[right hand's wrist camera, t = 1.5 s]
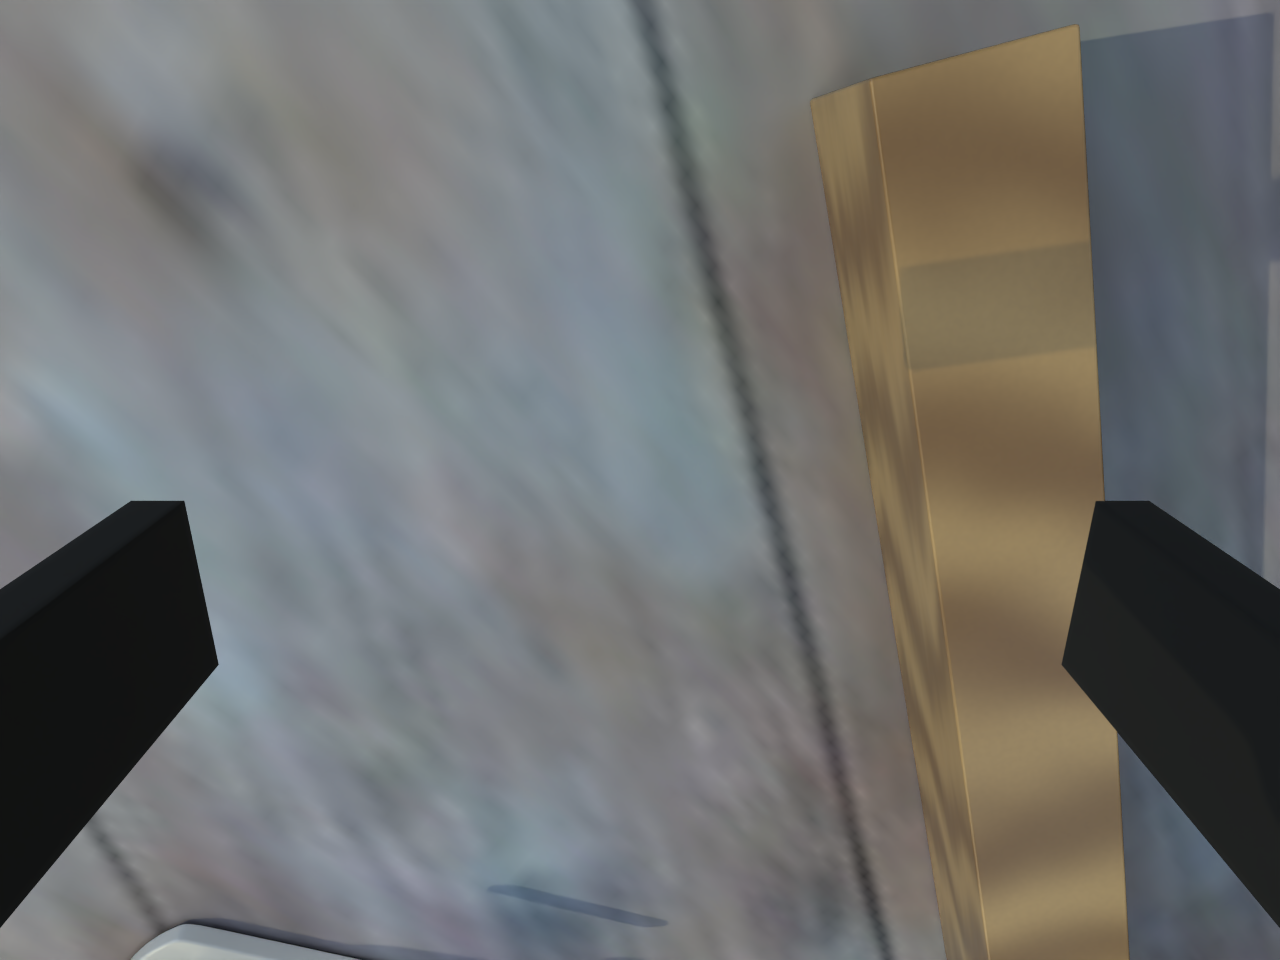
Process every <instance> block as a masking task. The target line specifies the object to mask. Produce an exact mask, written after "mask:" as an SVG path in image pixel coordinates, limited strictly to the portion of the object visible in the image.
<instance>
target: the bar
mask: <svg viewBox="0 0 1280 960" xmlns="http://www.w3.org/2000/svg"><path fill="white" fill-rule="evenodd" d="M810 104H811V110H812V116H813V123H814V129H815V135H816V141H817V148H818V154H819V160H820V167H821V173H822V179H823V185H824V192H825V198H826V204H827V211H828V217H829V223H830V229H831V236H832V242H833V248H834V254H835V261H836V267H837V273H838V280H839V286H840V292H841V298H842V305H843V311H844V317H845V324H846V330H847V336H848V342H849V349H850V355H851V361H852V368H853V374H854V380H855V386H856V393H857V399H858V405H859V411H860V418H861V424H862V430H863V437H864V443H865V449H866V455H867V462H868V468H869V474H870V481H871V487H872V493H873V499H874V506H875V512H876V518H877V525H878V531H879V537H880V543H881V550H882V556H883V562H884V568H885V575H886V581H887V587H888V594H889V600H890V606H891V612H892V619H893V625H894V631H895V638H896V644H897V650H898V656H899V663H900V669H901V675H902V682H903V688H904V694H905V700H906V707H907V713H908V719H909V725H910V732H911V738H912V744H913V751H914V757H915V763H916V769H917V776H918V782H919V788H920V795H921V801H922V807H923V813H924V820H925V826H926V832H927V839H928V845H929V851H930V857H931V864H932V870H933V876H934V882H935V889H936V895H937V901H938V908H939V914H940V920H941V926H942V933H943V939H944V945H945V952H946V958H947V960H1130V959H1129V940H1128V922H1127V903H1126V884H1125V866H1124V847H1123V828H1122V810H1121V791H1120V773H1119V754H1118V735H1117V731H1116V730H1115V729H1114V727H1113V726H1112V725H1111V724H1110V723H1109V721H1108V720H1107V719H1106V718H1105V717H1104V715H1103V714H1102V713H1101V712H1100V711H1099V709H1098V708H1097V707H1096V706H1095V705H1094V703H1093V702H1092V701H1091V700H1090V698H1089V697H1088V696H1087V695H1086V694H1085V692H1084V691H1083V690H1082V689H1081V688H1080V686H1079V685H1078V684H1077V683H1076V682H1075V680H1074V679H1073V678H1072V677H1071V676H1070V674H1069V673H1068V672H1067V671H1066V670H1065V668H1064V667H1063V666H1062V665H1061V664H1062V659H1063V655H1064V650H1065V645H1066V640H1067V636H1068V631H1069V626H1070V621H1071V617H1072V612H1073V607H1074V602H1075V597H1076V593H1077V588H1078V583H1079V578H1080V574H1081V569H1082V564H1083V559H1084V554H1085V550H1086V545H1087V540H1088V535H1089V531H1090V526H1091V521H1092V516H1093V512H1094V507H1095V502H1096V501H1105V493H1104V475H1103V456H1102V437H1101V419H1100V400H1099V381H1098V363H1097V344H1096V326H1095V307H1094V288H1093V270H1092V251H1091V233H1090V214H1089V195H1088V177H1087V158H1086V139H1085V121H1084V102H1083V84H1082V65H1081V46H1080V28H1079V25H1077V24H1073V25H1070V26H1066V27H1062V28H1058V29H1054V30H1051V31H1047V32H1043V33H1039V34H1036V35H1032V36H1028V37H1024V38H1021V39H1017V40H1013V41H1009V42H1005V43H1002V44H998V45H994V46H990V47H987V48H983V49H979V50H975V51H972V52H968V53H964V54H960V55H957V56H953V57H949V58H945V59H941V60H938V61H934V62H930V63H926V64H923V65H919V66H915V67H911V68H908V69H904V70H900V71H896V72H892V73H889V74H885V75H881V76H877V77H874V78H870V79H868V80H865V81H862V82H859V83H856V84H853V85H850V86H848V87H845V88H842V89H839V90H836V91H833V92H830V93H828V94H825V95H822V96H819V97H816V98H813V99H812V100H811V102H810Z"/></svg>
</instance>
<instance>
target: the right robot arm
mask: <svg viewBox="0 0 1280 960" xmlns="http://www.w3.org/2000/svg"><path fill="white" fill-rule="evenodd" d="M218 665H219V664H218V659H217V655H216V650H215V645H214V640H213V636H212V631H211V626H210V621H209V617H208V612H207V607H206V602H205V597H204V593H203V588H202V583H201V578H200V574H199V569H198V564H197V559H196V554H195V550H194V545H193V540H192V535H191V531H190V526H189V521H188V516H187V511H186V507H185V502H184V501H130V502H129V503H127V504H126V505H124V506H123V507H121V508H120V509H118V510H117V511H115V512H114V513H113V514H111V515H110V516H108V517H107V518H105V519H104V520H102V521H101V522H99V523H98V524H96V525H95V526H93V527H92V528H90V529H89V530H87V531H86V532H84V533H83V534H81V535H80V536H78V537H77V538H76V539H74V540H73V541H71V542H70V543H68V544H67V545H65V546H64V547H62V548H61V549H59V550H58V551H56V552H55V553H53V554H52V555H50V556H49V557H47V558H46V559H44V560H43V561H42V562H40V563H39V564H37V565H36V566H34V567H33V568H31V569H30V570H28V571H27V572H25V573H24V574H22V575H21V576H19V577H18V578H16V579H15V580H13V581H12V582H10V583H9V584H7V585H6V586H5V587H3V588H2V589H0V927H1V926H2V925H3V924H4V923H5V921H6V920H7V919H8V918H9V917H10V915H11V914H12V913H13V912H14V911H15V909H16V908H17V907H18V906H19V905H20V903H21V902H22V901H23V900H24V899H25V897H26V896H27V895H28V894H29V892H30V891H31V890H32V889H33V888H34V886H35V885H36V884H37V883H38V882H39V880H40V879H41V878H42V877H43V876H44V874H45V873H46V872H47V871H48V870H49V868H50V867H51V866H52V865H53V864H54V862H55V861H56V860H57V859H58V858H59V856H60V855H61V854H62V853H63V852H64V850H65V849H66V848H67V847H68V845H69V844H70V843H71V842H72V841H73V839H74V838H75V837H76V836H77V835H78V833H79V832H80V831H81V830H82V829H83V827H84V826H85V825H86V824H87V823H88V821H89V820H90V819H91V818H92V817H93V815H94V814H95V813H96V812H97V811H98V809H99V808H100V807H101V806H102V805H103V803H104V802H105V801H106V800H107V799H108V797H109V796H110V795H111V794H112V792H113V791H114V790H115V789H116V788H117V786H118V785H119V784H120V783H121V782H122V780H123V779H124V778H125V777H126V776H127V774H128V773H129V772H130V771H131V770H132V768H133V767H134V766H135V765H136V764H137V762H138V761H139V760H140V759H141V758H142V756H143V755H144V754H145V753H146V752H147V750H148V749H149V748H150V747H151V745H152V744H153V743H154V742H155V741H156V739H157V738H158V737H159V736H160V735H161V733H162V732H163V731H164V730H165V729H166V727H167V726H168V725H169V724H170V723H171V721H172V720H173V719H174V718H175V717H176V715H177V714H178V713H179V712H180V711H181V709H182V708H183V707H184V706H185V705H186V703H187V702H188V701H189V700H190V698H191V697H192V696H193V695H194V694H195V692H196V691H197V690H198V689H199V688H200V686H201V685H202V684H203V683H204V682H205V680H206V679H207V678H208V677H209V676H210V674H211V673H212V672H213V671H214V670H215V668H216V667H217V666H218ZM1061 665H1062V666H1063V667H1064V668H1065V670H1066V671H1067V672H1068V673H1069V674H1070V676H1071V677H1072V678H1073V679H1074V680H1075V682H1076V683H1077V684H1078V685H1079V686H1080V688H1081V689H1082V690H1083V691H1084V692H1085V694H1086V695H1087V696H1088V697H1089V698H1090V700H1091V701H1092V702H1093V703H1094V705H1095V706H1096V707H1097V708H1098V709H1099V711H1100V712H1101V713H1102V714H1103V715H1104V717H1105V718H1106V719H1107V720H1108V721H1109V723H1110V724H1111V725H1112V726H1113V727H1114V729H1115V730H1116V731H1117V732H1118V733H1119V735H1120V736H1121V737H1122V738H1123V739H1124V741H1125V742H1126V743H1127V744H1128V745H1129V747H1130V748H1131V749H1132V750H1133V752H1134V753H1135V754H1136V755H1137V756H1138V758H1139V759H1140V760H1141V761H1142V762H1143V764H1144V765H1145V766H1146V767H1147V768H1148V770H1149V771H1150V772H1151V773H1152V774H1153V776H1154V777H1155V778H1156V779H1157V780H1158V782H1159V783H1160V784H1161V785H1162V786H1163V788H1164V789H1165V790H1166V791H1167V792H1168V794H1169V795H1170V796H1171V797H1172V799H1173V800H1174V801H1175V802H1176V803H1177V805H1178V806H1179V807H1180V808H1181V809H1182V811H1183V812H1184V813H1185V814H1186V815H1187V817H1188V818H1189V819H1190V820H1191V821H1192V823H1193V824H1194V825H1195V826H1196V827H1197V829H1198V830H1199V831H1200V832H1201V833H1202V835H1203V836H1204V837H1205V838H1206V839H1207V841H1208V842H1209V843H1210V844H1211V845H1212V847H1213V848H1214V849H1215V850H1216V852H1217V853H1218V854H1219V855H1220V856H1221V858H1222V859H1223V860H1224V861H1225V862H1226V864H1227V865H1228V866H1229V867H1230V868H1231V870H1232V871H1233V872H1234V873H1235V874H1236V876H1237V877H1238V878H1239V879H1240V880H1241V882H1242V883H1243V884H1244V885H1245V886H1246V888H1247V889H1248V890H1249V891H1250V892H1251V894H1252V895H1253V896H1254V897H1255V899H1256V900H1257V901H1258V902H1259V903H1260V905H1261V906H1262V907H1263V908H1264V909H1265V911H1266V912H1267V913H1268V914H1269V915H1270V917H1271V918H1272V919H1273V920H1274V921H1275V923H1276V924H1277V925H1278V926H1279V927H1280V589H1278V588H1277V587H1275V586H1274V585H1273V584H1271V583H1270V582H1268V581H1267V580H1265V579H1264V578H1262V577H1261V576H1259V575H1258V574H1256V573H1255V572H1253V571H1252V570H1250V569H1249V568H1247V567H1246V566H1244V565H1243V564H1241V563H1240V562H1238V561H1237V560H1236V559H1234V558H1233V557H1231V556H1230V555H1228V554H1227V553H1225V552H1224V551H1222V550H1221V549H1219V548H1218V547H1216V546H1215V545H1213V544H1212V543H1210V542H1209V541H1207V540H1206V539H1204V538H1203V537H1202V536H1200V535H1199V534H1197V533H1196V532H1194V531H1193V530H1191V529H1190V528H1188V527H1187V526H1185V525H1184V524H1182V523H1181V522H1179V521H1178V520H1176V519H1175V518H1173V517H1172V516H1170V515H1169V514H1167V513H1166V512H1165V511H1163V510H1162V509H1160V508H1159V507H1157V506H1156V505H1154V504H1153V503H1151V502H1150V501H1096V502H1095V507H1094V512H1093V516H1092V521H1091V526H1090V531H1089V535H1088V540H1087V545H1086V550H1085V554H1084V559H1083V564H1082V569H1081V574H1080V578H1079V583H1078V588H1077V593H1076V597H1075V602H1074V607H1073V612H1072V617H1071V621H1070V626H1069V631H1068V636H1067V640H1066V645H1065V650H1064V655H1063V659H1062V664H1061Z"/></svg>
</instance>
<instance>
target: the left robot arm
mask: <svg viewBox="0 0 1280 960" xmlns="http://www.w3.org/2000/svg"><path fill="white" fill-rule="evenodd" d="M131 960H360V959H355V958H351V957H346V956H341V955H337V954H332V953H328V952H323V951H318V950H314V949H309V948H304V947H300V946H295V945H291V944H286V943H281V942H277V941H272V940H267V939H263V938H258V937H254V936H249V935H244V934H240V933H235V932H230V931H226V930H221V929H216V928H211V927H207V926H202V925H194V924H183V925H179V926H177V927H175V928H172V929H170V930H168V931H166V932H164V933H162V934H160V935H158V936H157V937H156V938H154V939H153V940H151V941H150V942H148V943H147V944H146V945H145V946H143V947H142V948H141V949H140V950H139V951H138V952H137V953H136V954H135V955H134V956H133V957H132V958H131Z"/></svg>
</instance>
